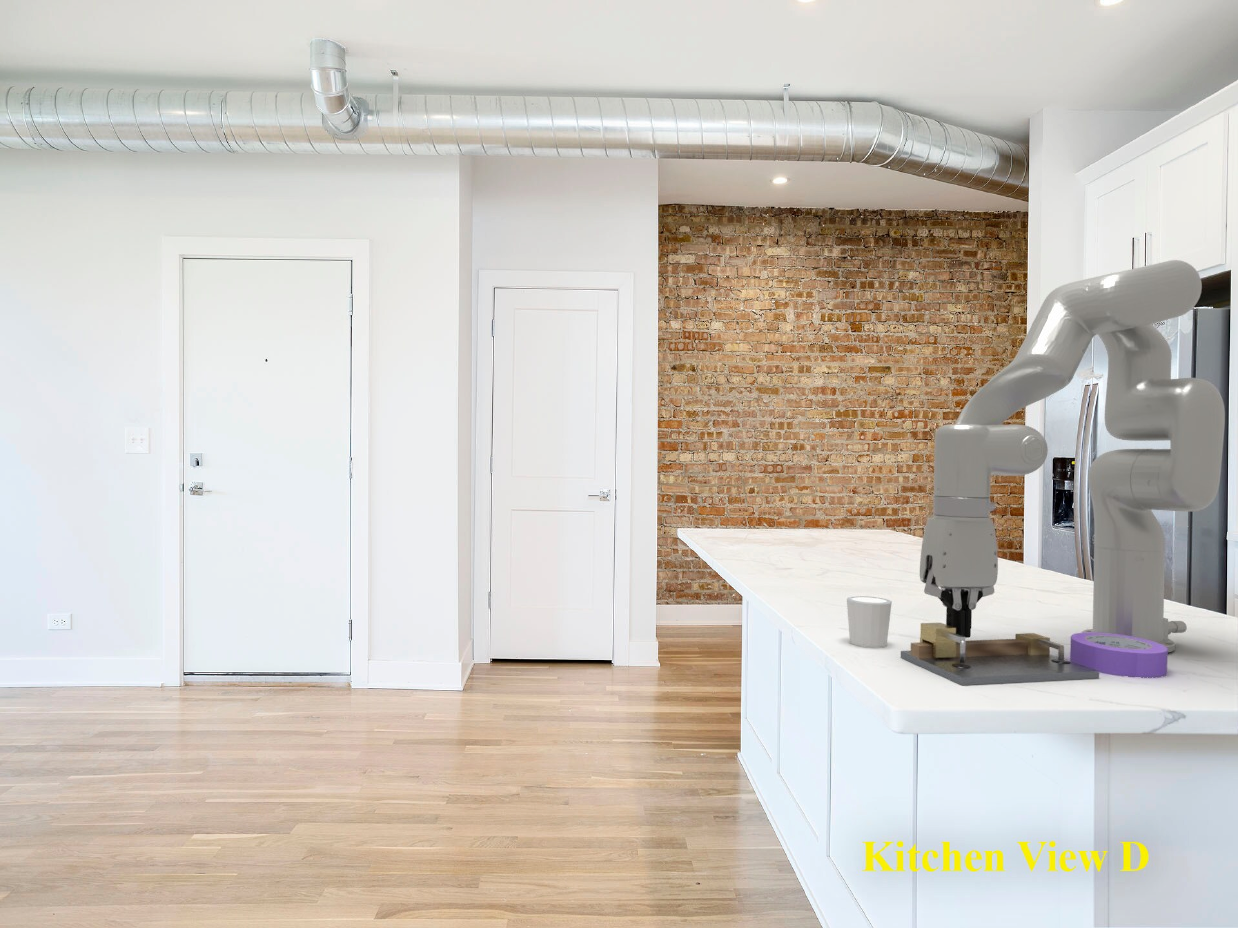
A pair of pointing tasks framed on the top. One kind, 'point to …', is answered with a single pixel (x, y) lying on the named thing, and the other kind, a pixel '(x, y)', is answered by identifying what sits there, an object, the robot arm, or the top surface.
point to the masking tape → (1119, 654)
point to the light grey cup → (868, 621)
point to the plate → (1003, 668)
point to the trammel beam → (996, 647)
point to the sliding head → (943, 640)
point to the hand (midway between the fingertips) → (958, 635)
